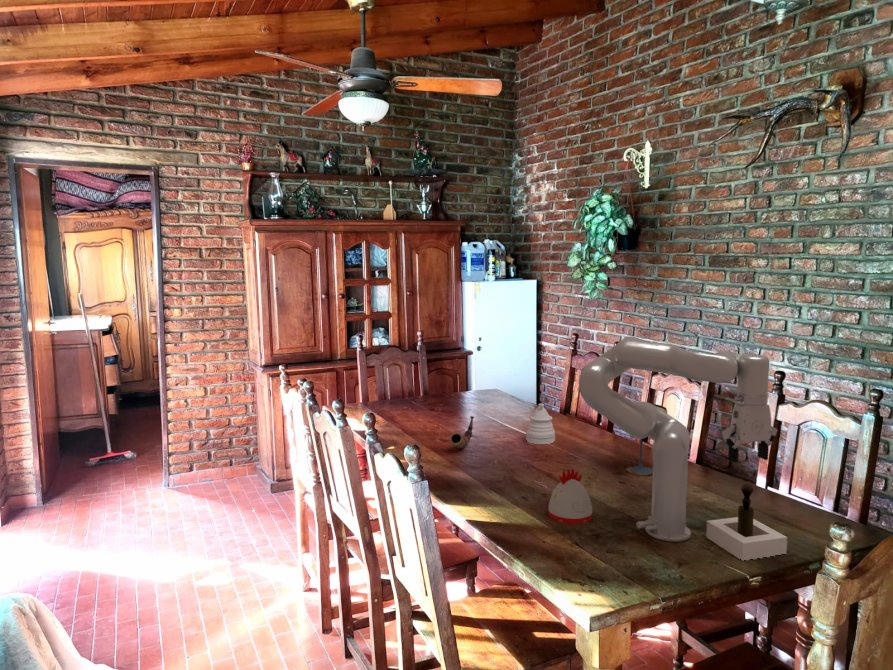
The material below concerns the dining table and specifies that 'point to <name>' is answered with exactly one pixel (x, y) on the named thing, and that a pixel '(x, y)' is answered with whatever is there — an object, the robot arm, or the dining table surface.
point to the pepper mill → (746, 513)
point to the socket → (746, 539)
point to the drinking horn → (462, 441)
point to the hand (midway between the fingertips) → (747, 459)
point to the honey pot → (540, 427)
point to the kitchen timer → (570, 500)
